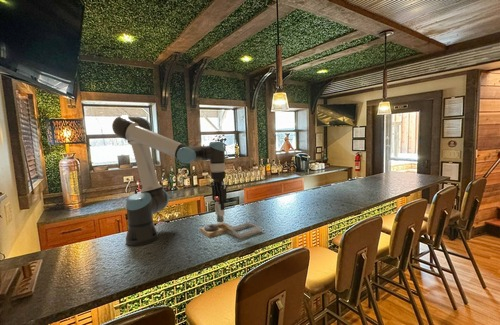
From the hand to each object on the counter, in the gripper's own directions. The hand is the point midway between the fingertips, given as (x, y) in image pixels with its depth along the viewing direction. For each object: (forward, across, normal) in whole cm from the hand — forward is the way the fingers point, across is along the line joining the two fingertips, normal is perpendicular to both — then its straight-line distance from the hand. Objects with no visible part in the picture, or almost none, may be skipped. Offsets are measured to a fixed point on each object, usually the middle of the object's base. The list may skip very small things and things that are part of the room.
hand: (220, 214), depth 133 cm
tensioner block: (+9, 0, +3) cm, 10 cm away
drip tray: (+9, -12, -7) cm, 17 cm away
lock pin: (+4, 0, 0) cm, 4 cm away
